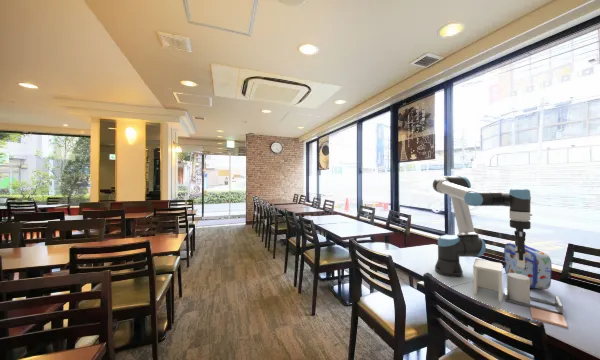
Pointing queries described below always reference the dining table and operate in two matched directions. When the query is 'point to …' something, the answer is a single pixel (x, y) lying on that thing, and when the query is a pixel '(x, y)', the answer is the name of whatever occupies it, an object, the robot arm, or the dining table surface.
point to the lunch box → (529, 265)
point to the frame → (556, 303)
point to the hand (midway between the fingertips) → (520, 263)
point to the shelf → (487, 276)
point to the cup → (518, 287)
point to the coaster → (548, 317)
